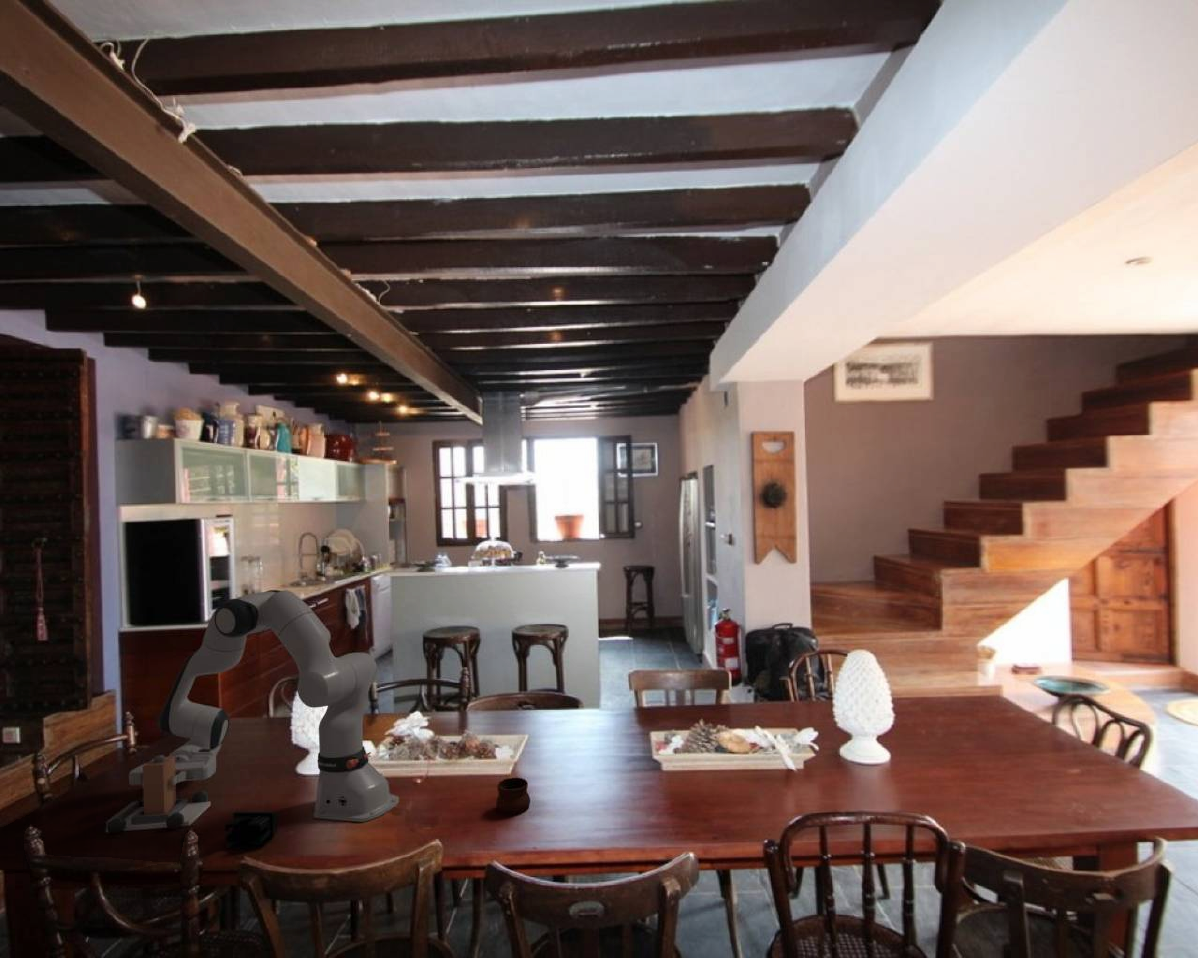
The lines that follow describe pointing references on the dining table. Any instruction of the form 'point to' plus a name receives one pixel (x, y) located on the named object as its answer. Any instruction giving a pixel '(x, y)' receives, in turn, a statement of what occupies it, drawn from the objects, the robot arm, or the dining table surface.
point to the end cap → (251, 830)
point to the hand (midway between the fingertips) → (157, 783)
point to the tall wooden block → (159, 785)
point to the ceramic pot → (512, 796)
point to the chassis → (158, 815)
